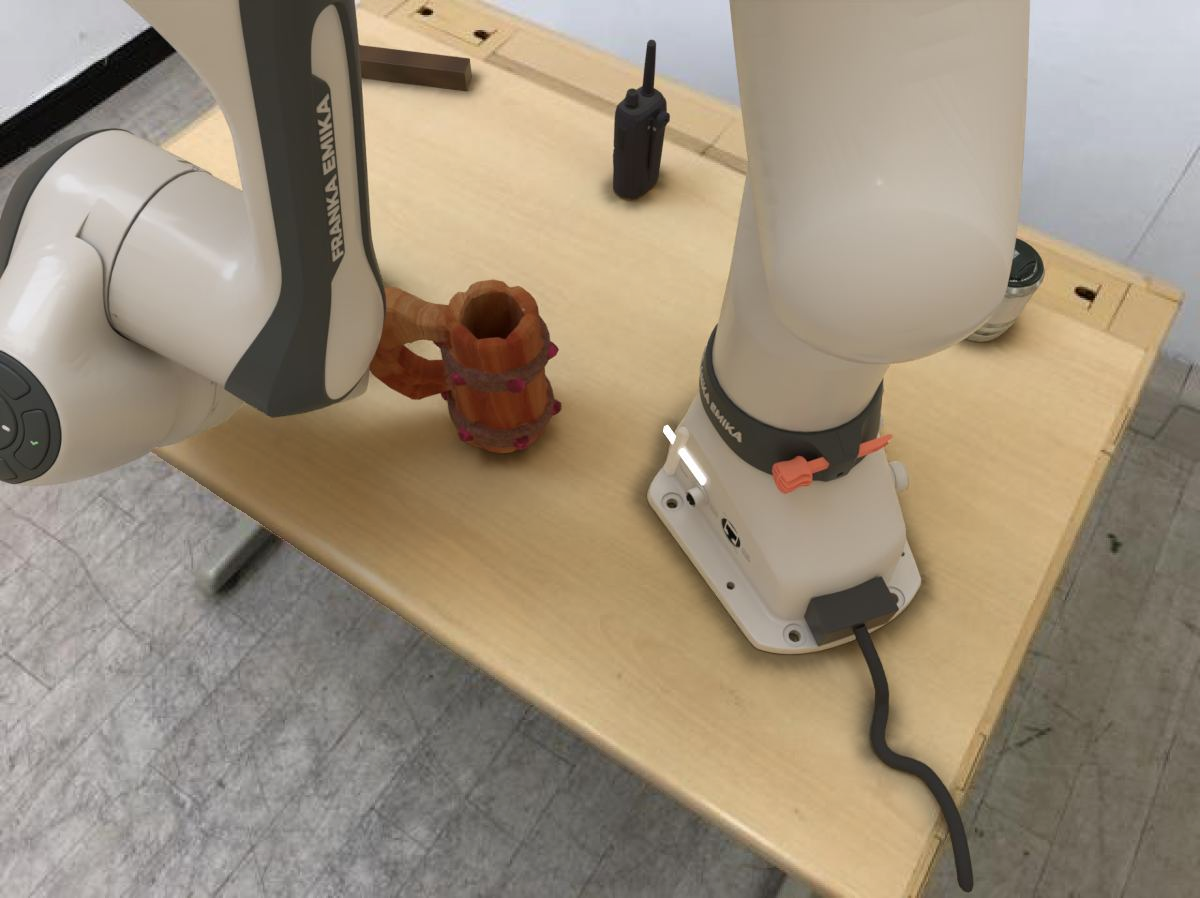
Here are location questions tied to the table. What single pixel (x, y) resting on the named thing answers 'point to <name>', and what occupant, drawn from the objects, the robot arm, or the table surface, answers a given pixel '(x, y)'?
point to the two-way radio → (639, 134)
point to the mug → (474, 361)
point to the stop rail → (415, 67)
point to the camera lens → (1014, 292)
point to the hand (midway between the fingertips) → (266, 343)
